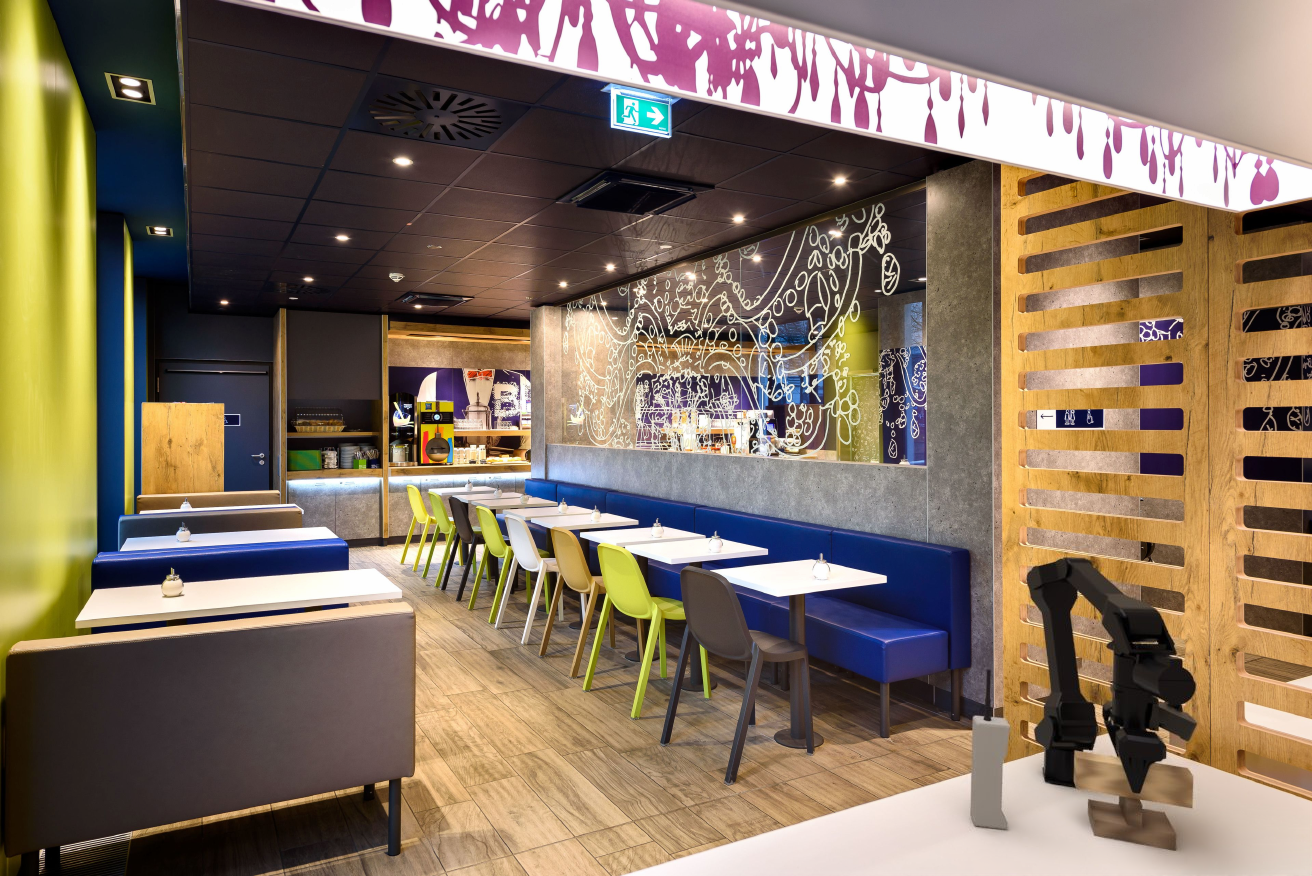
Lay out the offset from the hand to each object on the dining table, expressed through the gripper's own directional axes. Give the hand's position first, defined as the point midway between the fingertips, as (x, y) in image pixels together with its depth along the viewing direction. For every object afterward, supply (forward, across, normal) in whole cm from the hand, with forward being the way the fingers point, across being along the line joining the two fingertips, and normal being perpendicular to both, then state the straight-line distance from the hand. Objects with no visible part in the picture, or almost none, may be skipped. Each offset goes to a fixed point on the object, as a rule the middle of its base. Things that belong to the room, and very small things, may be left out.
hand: (1130, 781), depth 127 cm
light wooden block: (+2, 0, 0) cm, 2 cm away
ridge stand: (+8, 0, 0) cm, 8 cm away
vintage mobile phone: (+8, -7, +21) cm, 24 cm away
